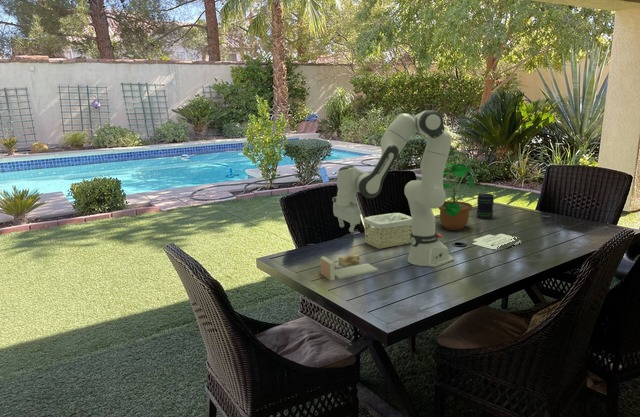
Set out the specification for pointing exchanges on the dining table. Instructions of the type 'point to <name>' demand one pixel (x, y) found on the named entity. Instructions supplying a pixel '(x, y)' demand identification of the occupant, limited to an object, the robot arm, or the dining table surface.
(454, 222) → the potted plant
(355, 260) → the wooden handled scraper
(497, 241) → the paper stack
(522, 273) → the dining table surface
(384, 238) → the storage basket
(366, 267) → the tool rest
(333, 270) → the tile
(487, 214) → the storage jar
